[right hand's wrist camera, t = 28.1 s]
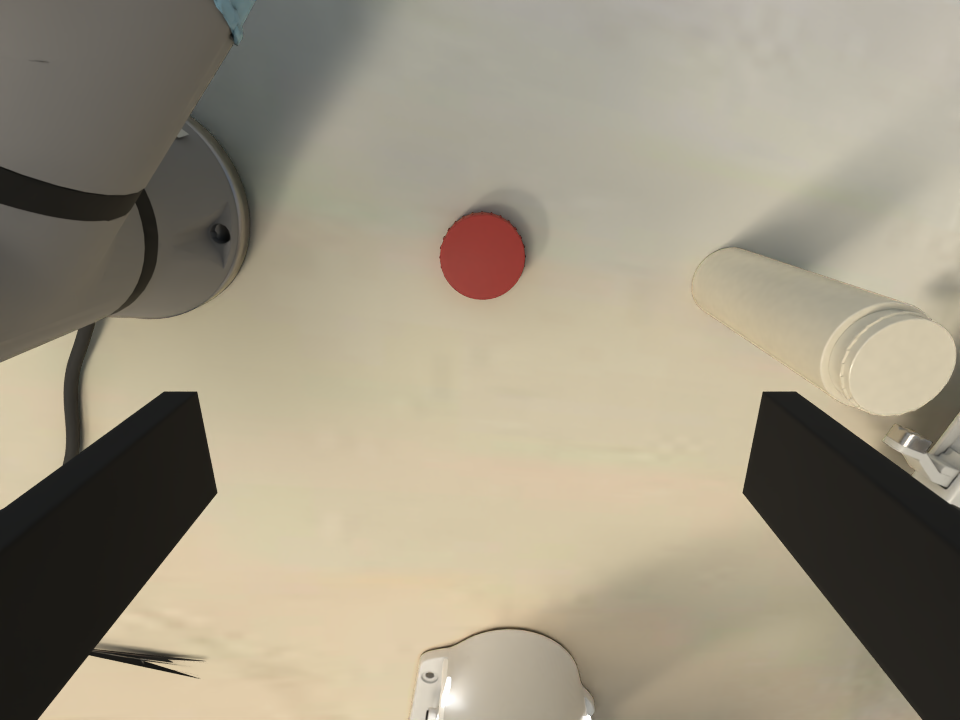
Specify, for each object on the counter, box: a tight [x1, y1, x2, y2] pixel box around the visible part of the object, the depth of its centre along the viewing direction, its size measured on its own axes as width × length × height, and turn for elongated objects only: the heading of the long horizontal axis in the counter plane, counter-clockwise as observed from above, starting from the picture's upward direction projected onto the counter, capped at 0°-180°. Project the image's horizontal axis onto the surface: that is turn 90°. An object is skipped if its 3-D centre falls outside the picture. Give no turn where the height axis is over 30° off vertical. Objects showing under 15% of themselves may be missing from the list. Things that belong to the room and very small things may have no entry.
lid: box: [439, 211, 526, 300], centre depth 39 cm, size 6×6×2 cm
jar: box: [692, 247, 956, 416], centre depth 32 cm, size 5×5×18 cm
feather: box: [89, 649, 202, 679], centre depth 52 cm, size 2×28×2 cm
